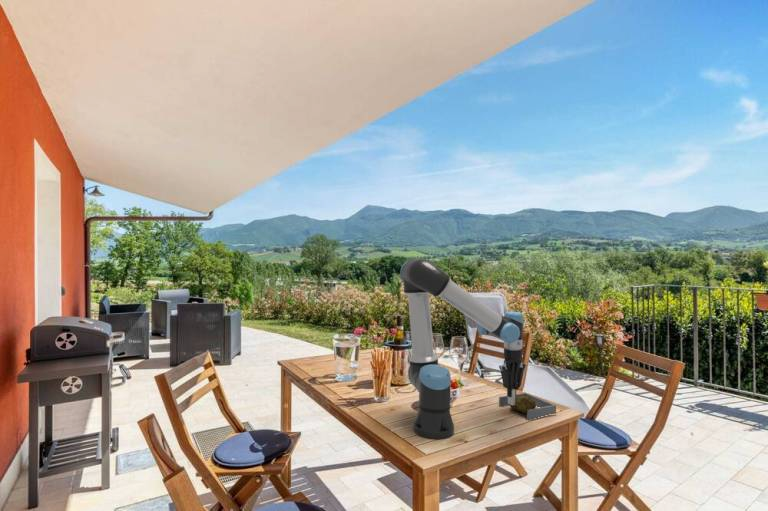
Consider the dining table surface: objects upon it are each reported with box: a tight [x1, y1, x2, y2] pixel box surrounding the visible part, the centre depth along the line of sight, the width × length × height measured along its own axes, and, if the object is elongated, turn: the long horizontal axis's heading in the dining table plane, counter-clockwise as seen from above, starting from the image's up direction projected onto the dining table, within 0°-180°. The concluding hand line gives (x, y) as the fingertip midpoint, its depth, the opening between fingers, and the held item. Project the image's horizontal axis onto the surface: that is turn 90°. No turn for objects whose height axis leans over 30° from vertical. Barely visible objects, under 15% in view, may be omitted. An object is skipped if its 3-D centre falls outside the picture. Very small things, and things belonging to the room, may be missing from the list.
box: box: [498, 392, 557, 421], centre depth 184 cm, size 15×18×4 cm
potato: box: [508, 396, 537, 414], centre depth 181 cm, size 8×13×8 cm, turn 5°
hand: (511, 404), depth 181 cm, fingers closed
